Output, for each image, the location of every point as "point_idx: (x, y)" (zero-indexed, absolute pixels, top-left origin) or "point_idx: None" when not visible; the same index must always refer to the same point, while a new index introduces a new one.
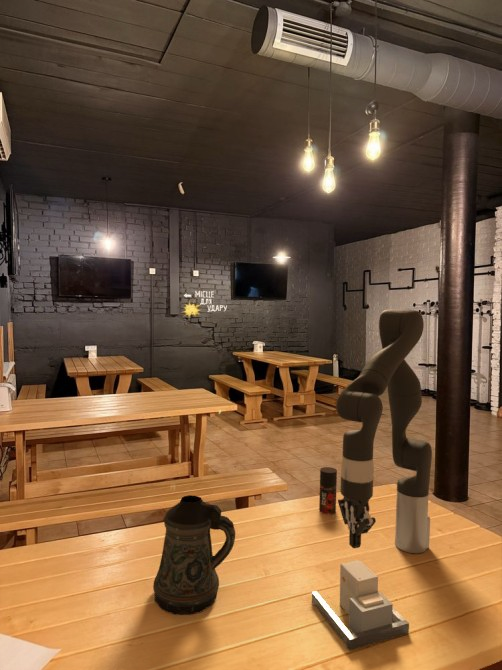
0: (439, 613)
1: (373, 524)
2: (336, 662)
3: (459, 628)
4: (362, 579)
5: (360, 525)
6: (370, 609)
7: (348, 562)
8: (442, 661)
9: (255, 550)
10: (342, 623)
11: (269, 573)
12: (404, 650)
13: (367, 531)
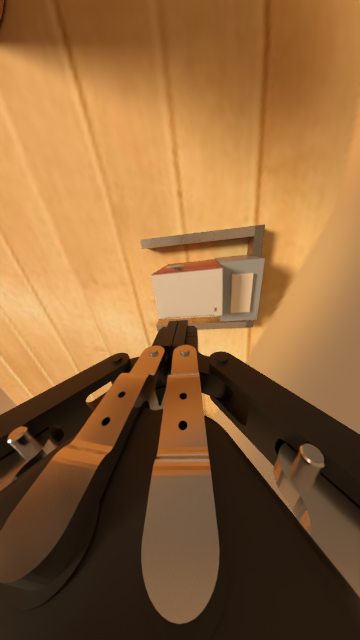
0: (240, 112)
1: (342, 427)
2: (255, 339)
3: (294, 92)
4: (219, 305)
5: (257, 439)
6: (258, 305)
7: (157, 303)
8: (329, 206)
9: (55, 346)
10: (224, 322)
11: (102, 347)
12: (280, 254)
13: (242, 365)
